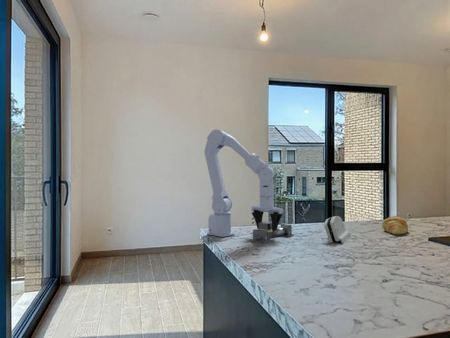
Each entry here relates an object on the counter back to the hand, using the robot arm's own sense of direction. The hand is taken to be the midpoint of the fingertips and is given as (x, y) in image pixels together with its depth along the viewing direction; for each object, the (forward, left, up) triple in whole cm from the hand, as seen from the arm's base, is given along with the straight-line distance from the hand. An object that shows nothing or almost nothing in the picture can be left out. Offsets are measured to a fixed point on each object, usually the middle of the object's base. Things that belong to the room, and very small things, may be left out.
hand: (266, 229), depth 147 cm
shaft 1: (+2, -7, -3) cm, 8 cm away
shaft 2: (+2, +7, -3) cm, 8 cm away
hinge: (+23, +15, -3) cm, 28 cm away
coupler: (0, 0, -3) cm, 3 cm away
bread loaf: (+35, +46, -3) cm, 57 cm away
